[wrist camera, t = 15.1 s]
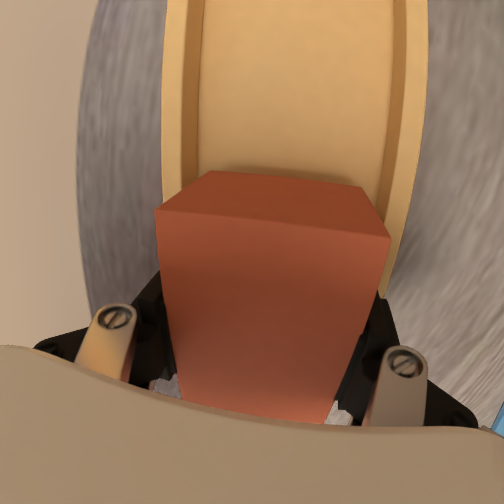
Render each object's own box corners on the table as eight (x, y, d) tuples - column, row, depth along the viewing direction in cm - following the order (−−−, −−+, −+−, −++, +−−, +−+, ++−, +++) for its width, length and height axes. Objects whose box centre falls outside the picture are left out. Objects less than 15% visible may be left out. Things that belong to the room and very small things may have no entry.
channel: (349, 351, 15) (351, 379, 13) (191, 327, 16) (178, 352, 14) (407, -33, 6) (421, -52, 4) (195, -46, 7) (177, -65, 5)
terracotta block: (210, 169, 10) (153, 209, 6) (362, 187, 9) (392, 238, 5) (213, 345, 13) (185, 414, 10) (320, 362, 13) (316, 437, 9)
